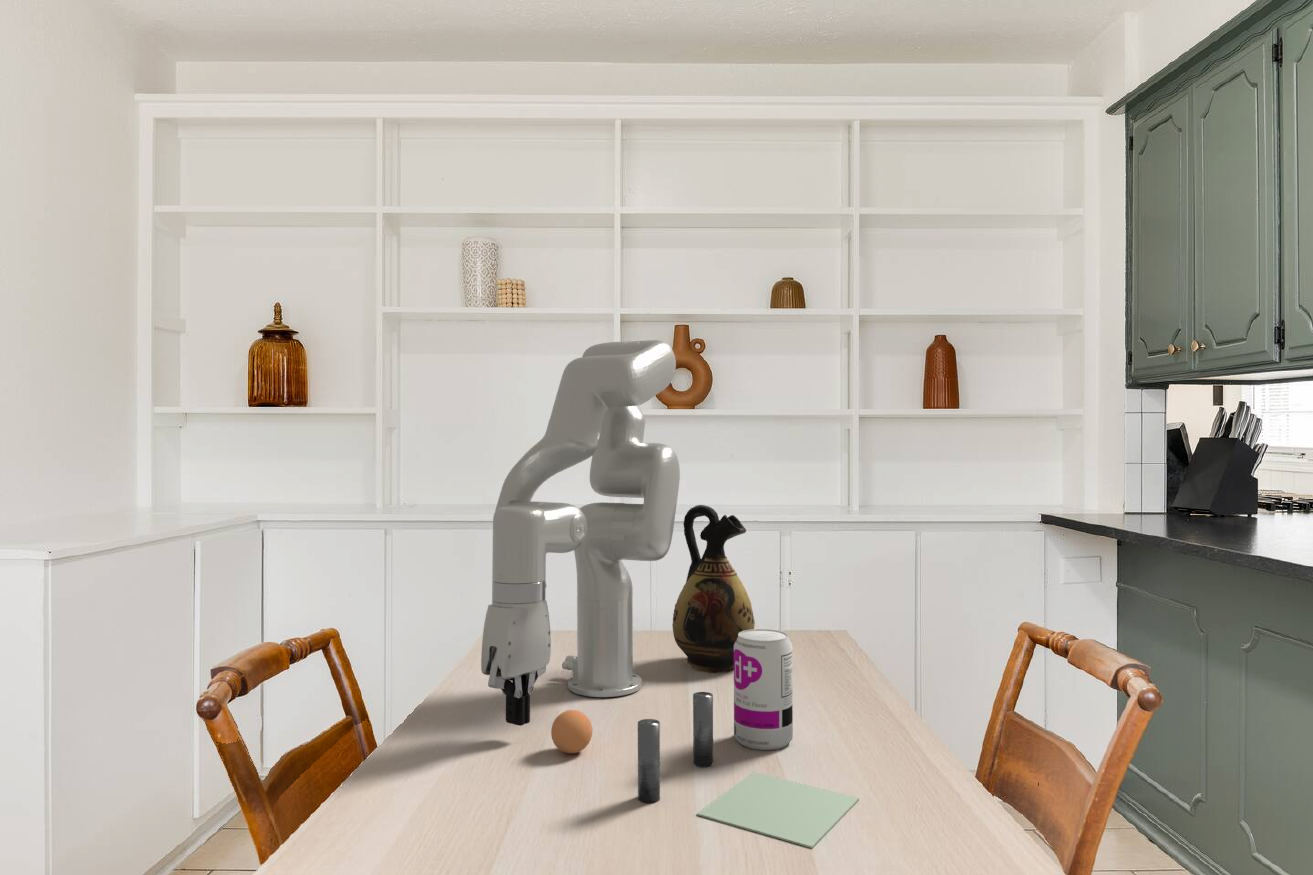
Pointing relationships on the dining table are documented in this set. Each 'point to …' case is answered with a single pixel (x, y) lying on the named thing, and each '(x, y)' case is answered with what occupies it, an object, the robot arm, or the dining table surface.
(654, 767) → the post
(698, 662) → the ceramic jug
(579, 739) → the ball
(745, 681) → the supplement can
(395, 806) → the dining table surface
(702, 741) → the post
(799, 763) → the dining table surface
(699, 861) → the dining table surface
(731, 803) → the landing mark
